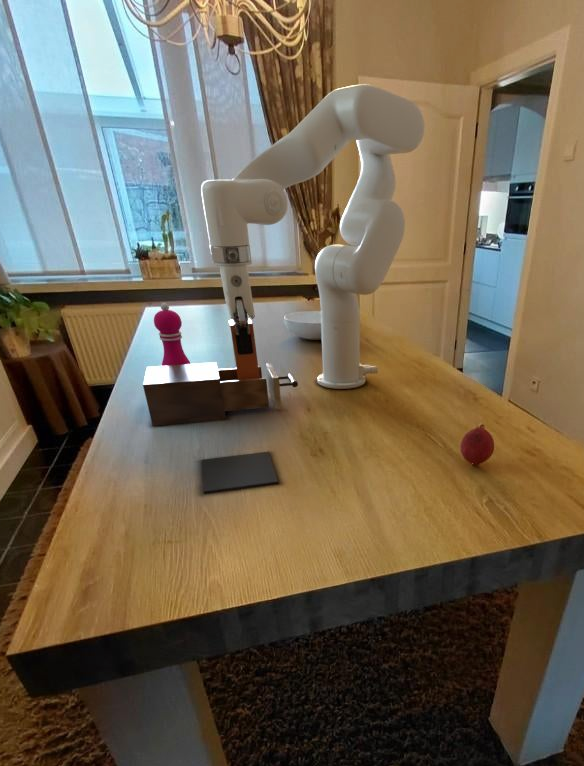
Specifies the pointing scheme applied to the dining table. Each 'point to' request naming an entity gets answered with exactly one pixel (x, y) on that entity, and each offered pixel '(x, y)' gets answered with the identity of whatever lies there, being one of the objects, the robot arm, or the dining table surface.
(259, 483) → the mat
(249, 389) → the drawer
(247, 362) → the tall orange-brown block
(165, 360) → the pepper mill
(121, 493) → the dining table surface
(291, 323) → the serving bowl
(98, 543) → the dining table surface
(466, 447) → the onion
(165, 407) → the cabinet
